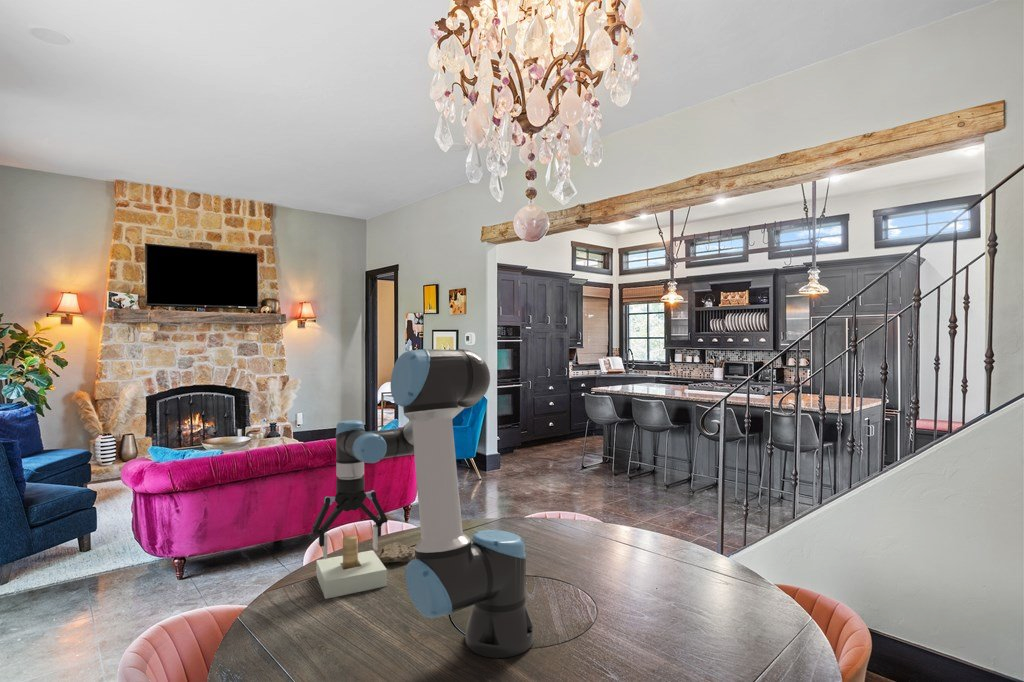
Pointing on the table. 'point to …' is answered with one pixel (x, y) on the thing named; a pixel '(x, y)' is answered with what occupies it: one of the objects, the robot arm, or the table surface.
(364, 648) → the table surface
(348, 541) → the dowel
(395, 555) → the rock
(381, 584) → the socket block
